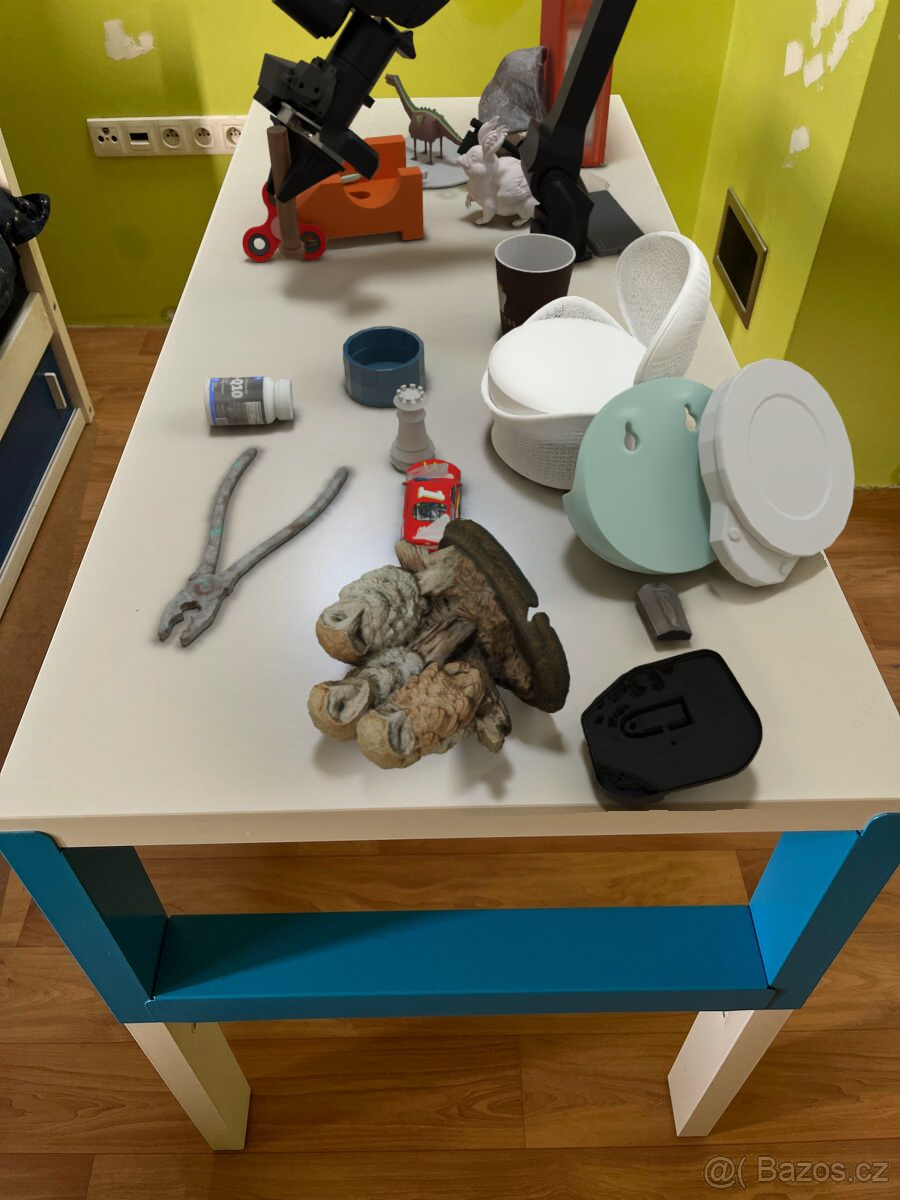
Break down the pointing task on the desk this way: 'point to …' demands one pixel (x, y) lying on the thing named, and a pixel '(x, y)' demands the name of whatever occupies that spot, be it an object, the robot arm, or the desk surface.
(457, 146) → the dinosaur
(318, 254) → the toy
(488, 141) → the figurine
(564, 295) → the coffee mug
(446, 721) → the owl figurine
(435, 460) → the race car
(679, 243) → the chair
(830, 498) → the lid
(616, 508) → the planter
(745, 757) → the black plastic housing
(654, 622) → the block
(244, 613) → the desk surface
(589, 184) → the stone
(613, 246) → the smartphone
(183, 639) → the pliers
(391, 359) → the bowl
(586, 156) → the file binder
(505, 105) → the fossil
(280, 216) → the brown rod with base
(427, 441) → the rook chess piece
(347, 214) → the tape dispenser
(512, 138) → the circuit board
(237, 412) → the pill bottle
